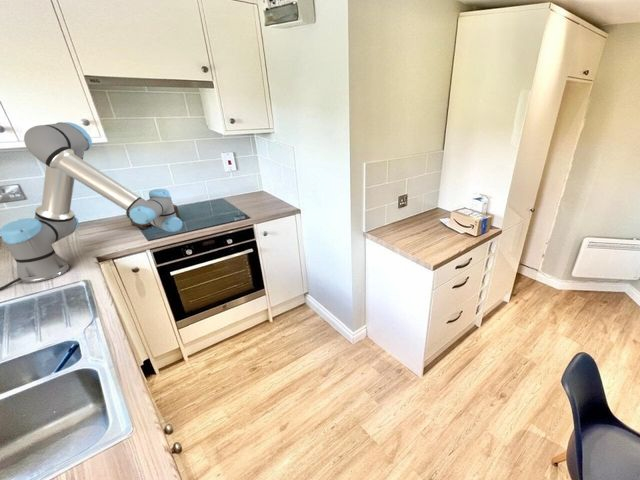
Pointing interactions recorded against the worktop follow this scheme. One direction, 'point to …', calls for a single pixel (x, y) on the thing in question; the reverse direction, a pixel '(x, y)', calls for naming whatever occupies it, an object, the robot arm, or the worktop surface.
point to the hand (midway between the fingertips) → (133, 208)
